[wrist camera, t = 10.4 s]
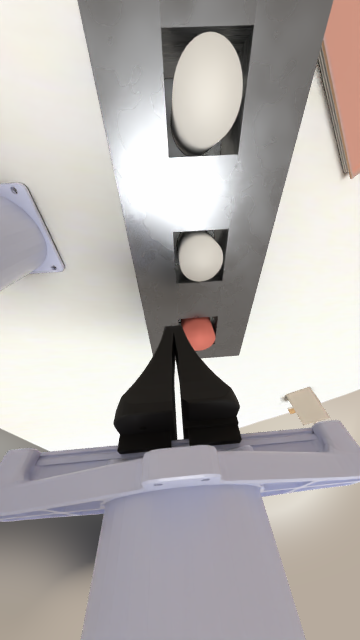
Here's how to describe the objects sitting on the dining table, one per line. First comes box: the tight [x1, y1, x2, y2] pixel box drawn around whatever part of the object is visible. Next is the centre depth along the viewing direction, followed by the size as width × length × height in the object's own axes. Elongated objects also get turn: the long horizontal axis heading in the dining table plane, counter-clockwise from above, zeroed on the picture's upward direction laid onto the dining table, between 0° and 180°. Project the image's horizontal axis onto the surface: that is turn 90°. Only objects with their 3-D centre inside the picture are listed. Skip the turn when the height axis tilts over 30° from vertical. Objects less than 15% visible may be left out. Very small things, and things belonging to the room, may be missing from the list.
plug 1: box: [171, 32, 243, 157], centre depth 11 cm, size 4×4×5 cm
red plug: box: [181, 317, 215, 351], centre depth 22 cm, size 4×4×5 cm
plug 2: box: [177, 230, 223, 282], centre depth 17 cm, size 4×4×5 cm
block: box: [78, 0, 333, 360], centre depth 17 cm, size 12×28×5 cm, turn 2°
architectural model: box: [286, 387, 330, 425], centre depth 41 cm, size 3×7×7 cm, turn 124°
